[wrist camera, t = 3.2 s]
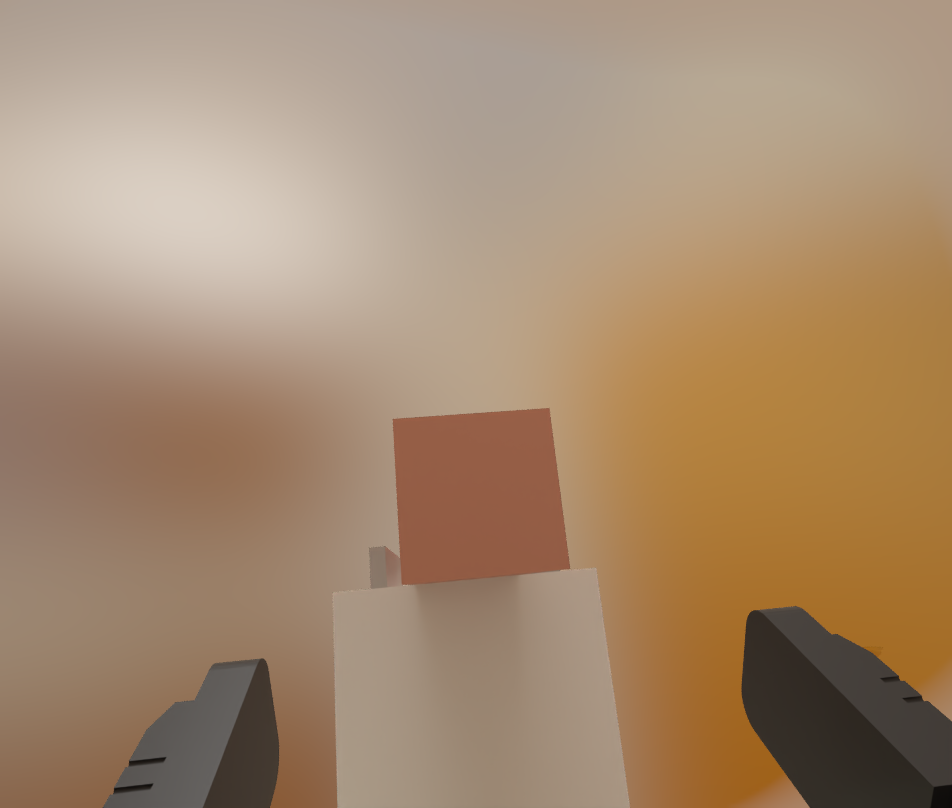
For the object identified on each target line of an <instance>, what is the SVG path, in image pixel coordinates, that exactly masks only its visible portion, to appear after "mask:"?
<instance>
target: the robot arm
mask: <svg viewBox="0 0 952 808" xmlns="http://www.w3.org/2000/svg"><path fill="white" fill-rule="evenodd" d="M744 648H745V649H744V661H743V674H742V699H743V704H744V708H745V711H746V714H747V717H748V719H749V722H750V724H751V726H752V727H753V729H754V731H755V732H756V733H757V735H758V736H759V737H760V739H761V740H762V742H763V743H764V745H765V746H766V747H767V749H768V750H769V751H770V753H771V754H772V756H773V757H774V758H775V760H776V761H777V762H778V764H779V765H780V767H781V768H782V769H783V771H784V772H785V773H786V775H787V776H788V778H789V779H790V780H791V782H792V783H793V785H794V786H795V787H796V789H797V790H798V792H799V793H800V794H801V795H802V797H803V798H804V800H805V801H806V803H807V804H808V805H809V807H810V808H952V721H950V720H949V719H948V718H947V717H946V716H945V715H944V714H942V713H941V712H940V711H939V710H938V709H937V708H935V707H934V706H933V705H932V704H931V703H930V702H928V701H923V699H922V696H921V695H920V694H919V693H918V692H917V691H916V690H914V689H913V688H912V687H911V686H910V685H908V683H906V682H905V681H900V679H899V676H898V675H897V674H896V673H895V672H894V671H892V670H891V669H890V668H889V667H888V666H887V665H885V664H884V663H883V662H882V661H881V660H880V659H878V658H877V657H876V656H875V655H874V654H873V653H871V652H870V651H868V650H866V649H864V648H862V647H860V646H858V645H856V644H855V643H852V642H851V641H849V640H847V639H845V638H843V637H841V636H840V635H838V634H833V635H831V634H830V633H829V632H828V631H827V630H826V629H825V628H823V627H822V626H821V625H820V624H819V623H818V622H817V621H816V620H815V619H814V618H812V617H811V616H810V615H809V614H808V613H807V612H806V611H804V610H803V609H802V608H800V607H796V606H794V607H784V608H774V609H765V610H754V611H752V612H751V613H750V614H749V615H748V618H747V622H746V634H745V647H744ZM278 766H279V740H278V733H277V726H276V720H275V711H274V705H273V698H272V691H271V684H270V678H269V671H268V666H267V663H266V661H265V660H264V659H253V660H244V661H233V662H223V663H215V664H213V665H212V667H211V668H210V670H209V672H208V674H207V676H206V678H205V680H204V682H203V684H202V686H201V688H200V690H199V692H198V694H197V696H196V698H195V700H193V701H184V702H175V703H174V704H173V705H172V706H171V707H170V708H169V709H168V710H167V711H166V712H165V713H164V714H163V715H162V716H161V717H160V718H159V719H157V720H156V721H155V722H154V723H153V724H152V725H151V726H150V727H149V728H148V729H147V730H146V732H145V734H144V735H143V737H142V739H141V741H140V742H139V744H138V746H137V748H136V750H135V751H134V753H133V755H132V757H131V759H130V760H129V766H128V767H126V768H125V769H124V771H123V773H122V775H121V776H120V778H119V780H118V782H117V783H116V786H115V787H114V793H113V795H110V796H109V798H108V799H107V801H106V803H105V805H104V807H103V808H270V805H271V801H272V798H273V794H274V790H275V786H276V781H277V774H278Z"/></svg>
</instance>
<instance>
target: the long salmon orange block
mask: <svg viewBox="0 0 952 808" xmlns="http://www.w3.org/2000/svg"><path fill="white" fill-rule="evenodd" d="M393 431H394V449H395V469H396V488H397V506H398V525H399V543H400V562H401V581H402V585H418V584H428V583H439V582H450V581H460V580H471V579H482V578H492V577H503V576H513V575H523V574H531V573H539V572H547V571H556V570H563V569H570V564H569V556H568V549H567V541H566V533H565V525H564V518H563V511H562V503H561V494H560V487H559V479H558V472H557V464H556V456H555V449H554V441H553V433H552V425H551V417H550V410H549V408H546V409H532V410H516V411H501V412H487V413H473V414H459V415H445V416H429V417H415V418H401V419H393Z"/></svg>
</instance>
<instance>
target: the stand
mask: <svg viewBox="0 0 952 808" xmlns="http://www.w3.org/2000/svg"><path fill="white" fill-rule="evenodd" d="M369 554H370V578H371V579H370V580H371V589H364V590H354V591H344V592H333V626H334V666H335V667H334V668H335V669H334V671H335V713H336V714H335V715H336V755H337V756H336V759H337V799H338V800H337V802H338V808H630V804H629V797H628V790H627V784H626V776H625V769H624V762H623V755H622V748H621V741H620V734H619V726H618V719H617V712H616V705H615V698H614V691H613V684H612V677H611V670H610V663H609V655H608V649H607V641H606V634H605V628H604V620H603V614H602V606H601V599H600V592H599V585H598V578H597V571H596V568H588V569H577V570H568V571H560V570H556V571H547V572H539V573H531V574H523V575H513V576H503V577H492V578H482V579H471V580H460V581H450V582H439V583H428V584H418V585H408V586H403V585H402V581H401V562H400V558H399V557H398V556H396V555H395V554H394V553H393V552H391V551H390V550H389V549H388V548H387V547H385V546H384V547H373V548H369Z"/></svg>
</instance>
